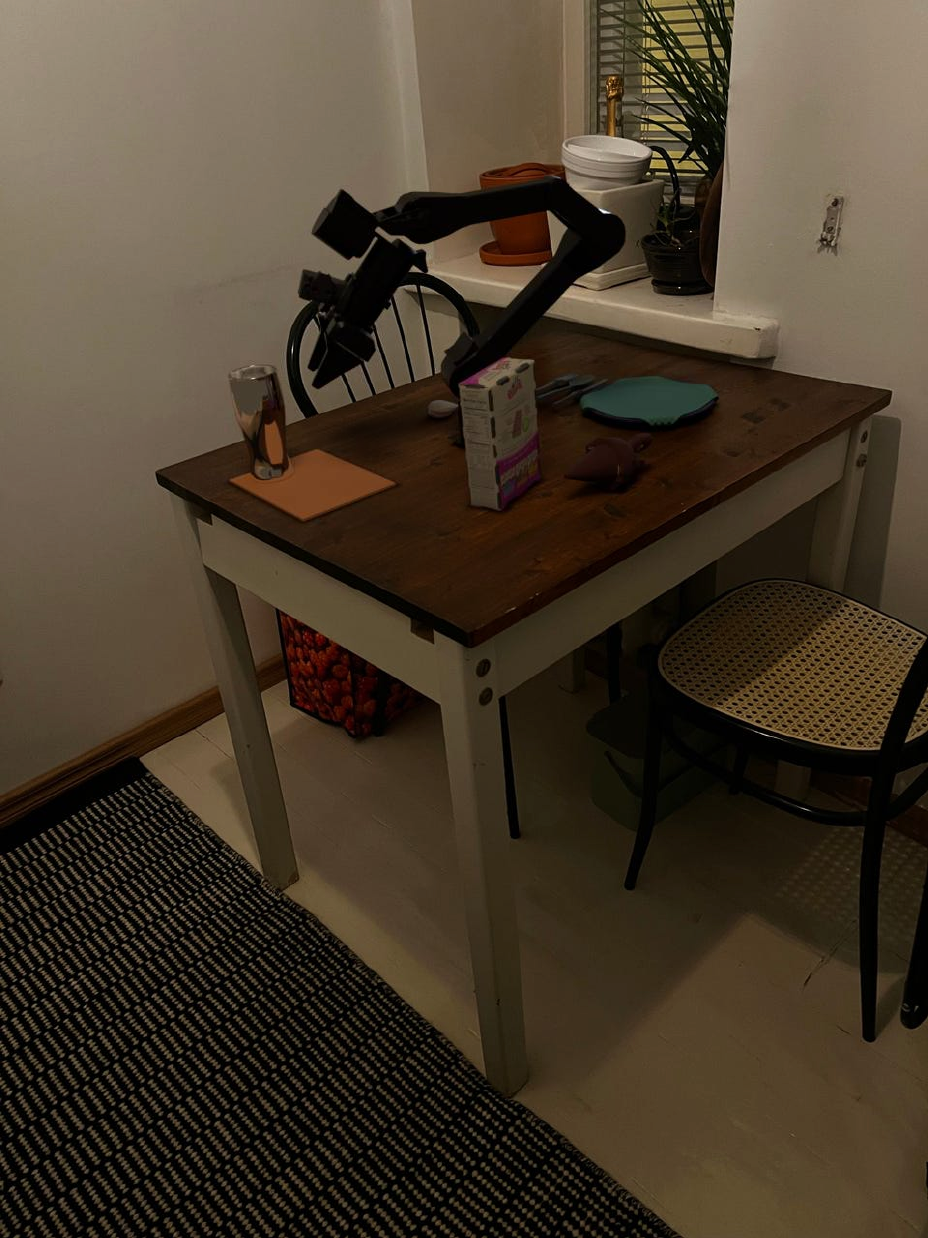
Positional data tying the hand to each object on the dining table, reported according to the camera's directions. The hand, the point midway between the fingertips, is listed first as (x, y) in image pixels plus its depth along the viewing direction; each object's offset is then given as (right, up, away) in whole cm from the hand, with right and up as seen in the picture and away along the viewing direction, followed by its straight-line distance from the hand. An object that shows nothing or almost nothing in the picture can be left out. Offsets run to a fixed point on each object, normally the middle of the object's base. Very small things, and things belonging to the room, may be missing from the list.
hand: (312, 378), depth 131 cm
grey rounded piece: (+18, -1, +22) cm, 28 cm away
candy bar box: (+26, -17, -5) cm, 32 cm away
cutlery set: (+46, +1, +20) cm, 50 cm away
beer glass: (-7, -13, +5) cm, 15 cm away
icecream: (+40, -16, -6) cm, 43 cm away
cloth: (-1, -14, +2) cm, 14 cm away
